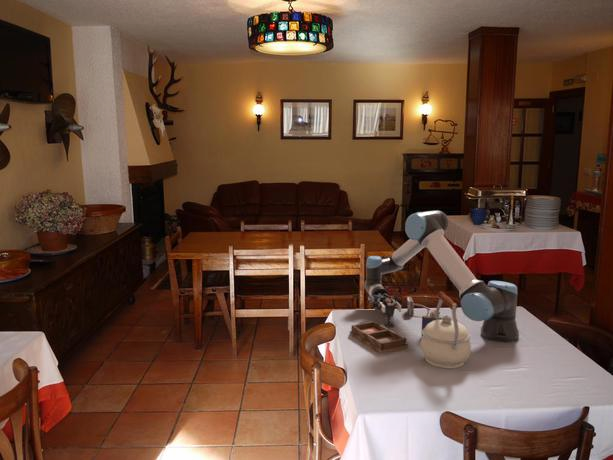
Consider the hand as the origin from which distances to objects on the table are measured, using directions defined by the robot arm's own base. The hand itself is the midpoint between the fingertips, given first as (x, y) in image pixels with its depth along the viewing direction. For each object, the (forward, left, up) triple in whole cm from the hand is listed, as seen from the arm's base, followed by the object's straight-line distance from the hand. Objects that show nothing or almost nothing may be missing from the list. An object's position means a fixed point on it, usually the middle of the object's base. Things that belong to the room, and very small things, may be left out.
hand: (392, 309), depth 228 cm
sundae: (+5, -2, -9) cm, 10 cm away
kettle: (-34, +1, -9) cm, 36 cm away
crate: (-8, +13, -9) cm, 18 cm away
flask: (-15, -10, -9) cm, 20 cm away
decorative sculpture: (+7, -22, -10) cm, 26 cm away
